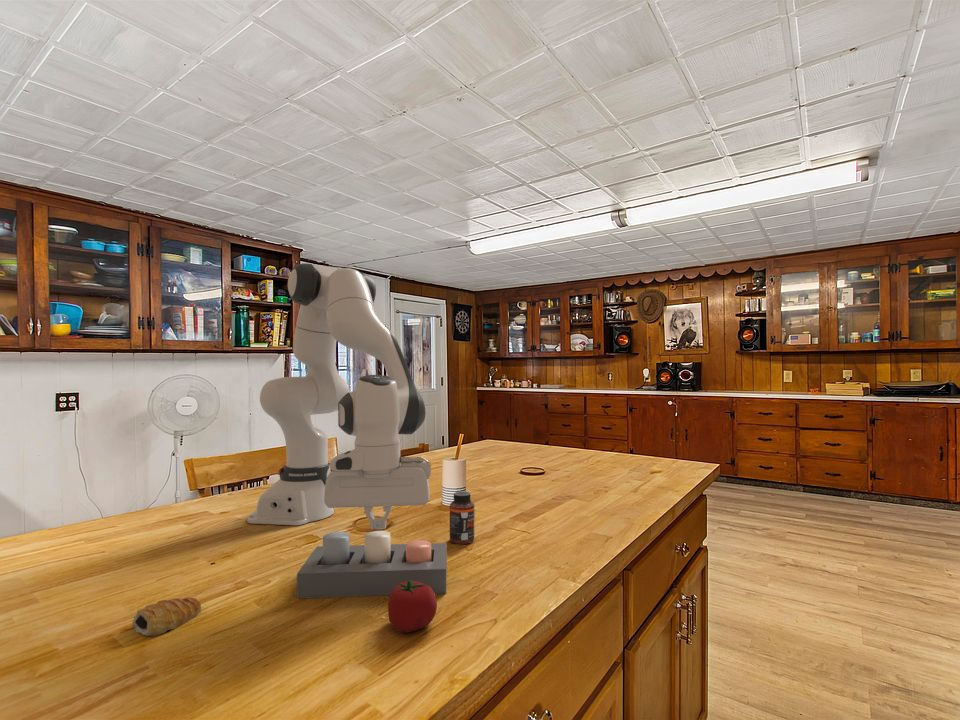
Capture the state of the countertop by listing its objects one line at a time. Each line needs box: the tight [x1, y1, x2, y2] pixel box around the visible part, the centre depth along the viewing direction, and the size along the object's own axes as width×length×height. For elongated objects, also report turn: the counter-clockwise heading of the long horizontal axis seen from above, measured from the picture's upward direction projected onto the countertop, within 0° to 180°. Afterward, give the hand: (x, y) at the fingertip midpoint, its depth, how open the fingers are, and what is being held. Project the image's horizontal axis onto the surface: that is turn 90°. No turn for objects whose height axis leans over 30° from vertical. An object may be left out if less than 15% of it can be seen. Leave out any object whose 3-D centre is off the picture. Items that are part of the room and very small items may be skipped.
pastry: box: [132, 596, 202, 637], centre depth 81 cm, size 9×7×4 cm
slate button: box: [322, 531, 350, 565], centre depth 95 cm, size 5×5×6 cm
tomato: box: [387, 581, 438, 634], centre depth 79 cm, size 8×8×7 cm
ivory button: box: [363, 530, 391, 564], centre depth 95 cm, size 5×5×6 cm
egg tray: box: [296, 542, 448, 599], centre depth 95 cm, size 27×13×4 cm, turn 93°
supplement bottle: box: [449, 491, 475, 545], centre depth 116 cm, size 6×6×11 cm
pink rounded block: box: [405, 539, 431, 562], centre depth 96 cm, size 5×5×6 cm
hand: (378, 528), depth 95 cm, fingers closed
